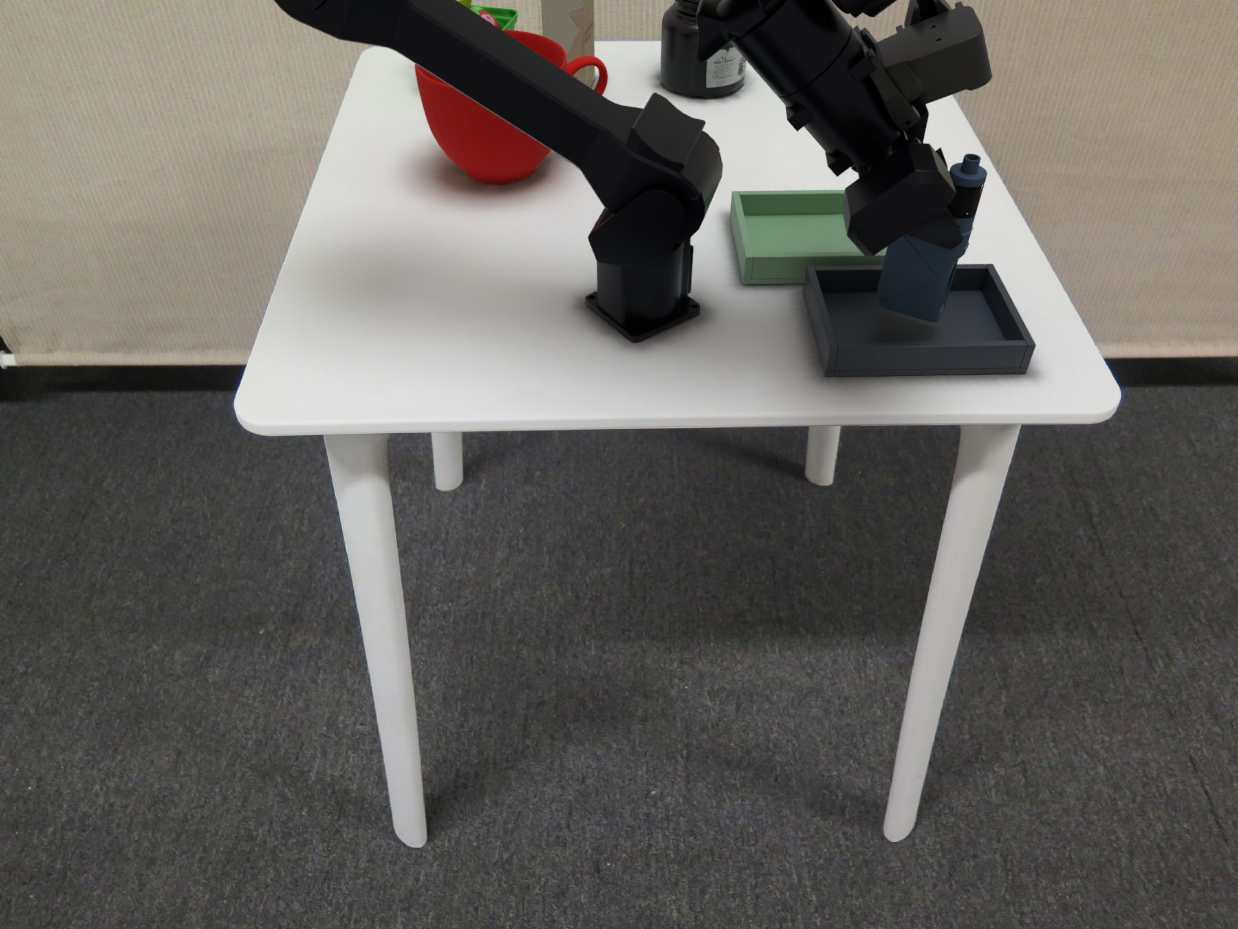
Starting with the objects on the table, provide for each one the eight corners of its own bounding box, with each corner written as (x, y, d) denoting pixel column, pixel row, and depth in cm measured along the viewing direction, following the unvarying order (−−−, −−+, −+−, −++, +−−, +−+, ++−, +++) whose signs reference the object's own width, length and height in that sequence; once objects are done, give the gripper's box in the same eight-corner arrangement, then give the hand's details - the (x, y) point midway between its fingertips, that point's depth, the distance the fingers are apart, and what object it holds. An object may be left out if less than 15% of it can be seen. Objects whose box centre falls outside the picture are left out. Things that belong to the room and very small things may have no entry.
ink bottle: (729, 106, 102) (739, -19, 94) (646, 93, 104) (649, -31, 96) (755, 69, 109) (766, -51, 100) (677, 57, 111) (681, -61, 103)
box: (585, 99, 103) (582, -15, 96) (544, 95, 104) (538, -18, 96) (596, 78, 107) (594, -33, 99) (556, 75, 108) (551, -36, 100)
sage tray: (743, 284, 79) (745, 256, 77) (729, 217, 86) (731, 190, 85) (923, 282, 79) (930, 254, 78) (895, 215, 87) (900, 188, 85)
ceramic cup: (631, 180, 91) (632, 69, 84) (447, 213, 87) (432, 99, 80) (585, 119, 100) (583, 15, 93) (416, 147, 96) (400, 40, 89)
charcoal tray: (824, 376, 71) (829, 348, 69) (802, 293, 78) (806, 265, 76) (1026, 373, 71) (1036, 344, 69) (984, 291, 78) (993, 263, 77)
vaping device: (941, 327, 71) (986, 170, 63) (870, 305, 73) (905, 149, 65) (951, 309, 73) (997, 154, 65) (882, 288, 75) (917, 134, 67)
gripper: (957, 26, 50) (1105, 231, 58) (905, -87, 64) (1030, 91, 71) (779, 165, 56) (934, 336, 63) (766, 35, 70) (895, 188, 77)
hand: (952, 228), depth 69 cm, fingers closed on vaping device, 3 cm apart
